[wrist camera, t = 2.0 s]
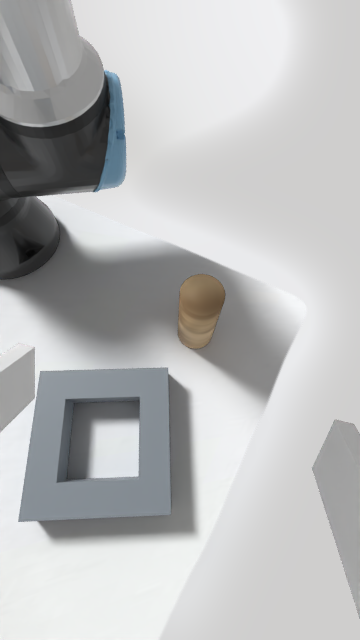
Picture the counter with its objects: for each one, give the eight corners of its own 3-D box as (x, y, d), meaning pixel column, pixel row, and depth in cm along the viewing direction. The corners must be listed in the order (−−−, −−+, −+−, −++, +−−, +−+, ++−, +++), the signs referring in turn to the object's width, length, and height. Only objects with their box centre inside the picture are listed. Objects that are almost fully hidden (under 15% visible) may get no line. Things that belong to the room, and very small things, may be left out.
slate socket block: (50, 377, 41) (40, 371, 38) (168, 373, 42) (168, 367, 39) (32, 515, 35) (18, 521, 32) (171, 508, 36) (170, 514, 32)
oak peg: (177, 317, 45) (178, 274, 34) (210, 316, 45) (223, 273, 34) (178, 349, 43) (180, 315, 32) (213, 348, 43) (227, 314, 32)
